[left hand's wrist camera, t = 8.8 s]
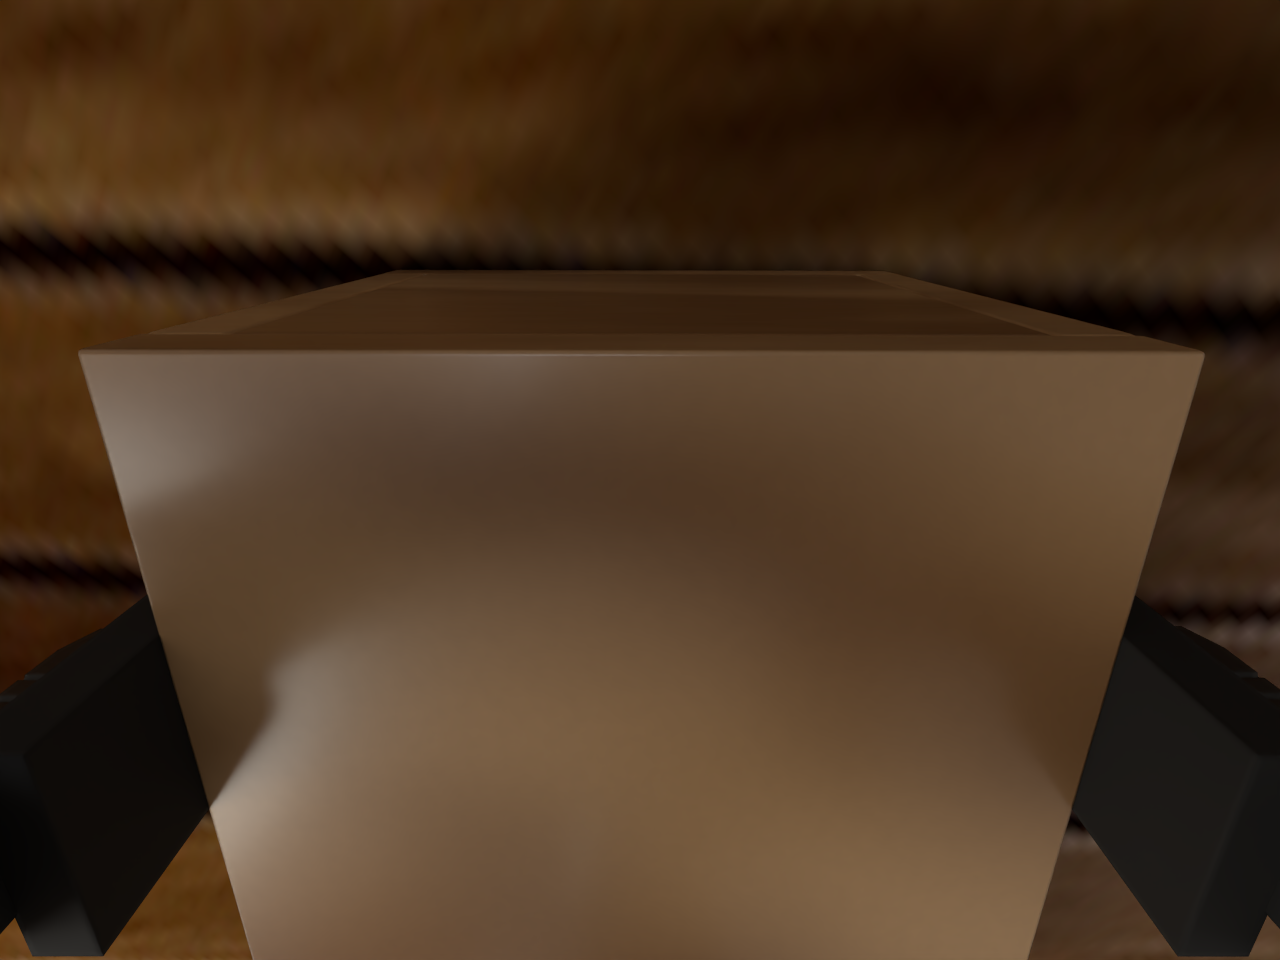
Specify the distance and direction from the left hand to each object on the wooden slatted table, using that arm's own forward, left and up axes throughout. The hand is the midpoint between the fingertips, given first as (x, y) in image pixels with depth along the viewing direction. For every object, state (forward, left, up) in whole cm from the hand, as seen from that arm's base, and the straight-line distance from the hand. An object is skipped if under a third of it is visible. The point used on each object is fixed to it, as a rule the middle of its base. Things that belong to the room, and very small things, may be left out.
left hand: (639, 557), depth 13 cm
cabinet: (0, +6, -5) cm, 8 cm away
